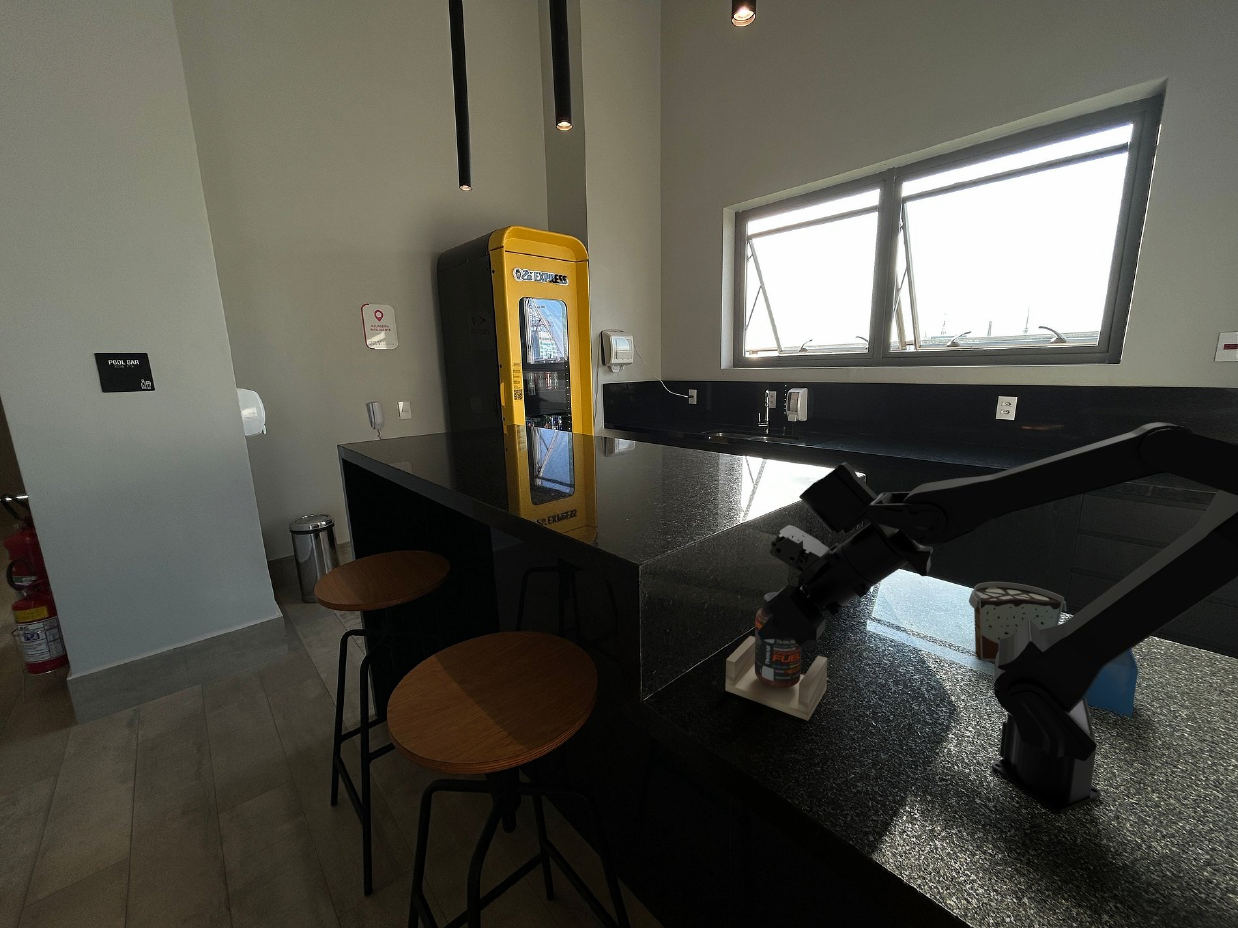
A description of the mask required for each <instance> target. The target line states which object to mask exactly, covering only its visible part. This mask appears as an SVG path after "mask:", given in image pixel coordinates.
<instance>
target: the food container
mask: <svg viewBox="0 0 1238 928" xmlns="http://www.w3.org/2000/svg"><path fill="white" fill-rule="evenodd" d="M968 603H969V605H970V606H971V607H972V608H973V611H974V612H973V615H974V616H973V617H974V644H975V647H974V648H975V650H974V651H975V654H976V657H977V658H978V660H980V661H987V662H988V661H989V662H990V661H993V662H994V661H995V659H996V655H997V652H998V651H999V640H1000V639H1003V638H1007V637H1009V636H1011V635H1013V634H1014V633H1016V632H1017V631H1018V629H1019V628H1020V627H1021V626H1022V625H1023V624H1024V623H1025V622H1026V621H1027V620H1031V621H1032V622H1033V623H1034V624H1035V625H1036V626H1037V627H1038V628H1039V629H1040V630H1042V629H1046V628H1050V627H1054V626H1057V625H1060V624H1059V623H1060V619H1061V615H1062V611H1064V612H1067V611H1068V610H1067V603H1066V601H1065V597H1064V596H1062V595H1060V594H1057V593H1055V592H1052V591H1050V590H1047V589H1044V588H1041V587H1036V586H1032V585H1029V584H1028V585H1027V584H1024V583H1023V584H1021V583H1015V582H1008V581H1007V582H1006V581H1005V582H1004V581H987V582H981V583H977V584H976V585H975V586H974V588H973V589H972V590H971V593H970V595H969V598H968Z"/></svg>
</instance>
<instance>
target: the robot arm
mask: <svg viewBox="0 0 1238 928" xmlns="http://www.w3.org/2000/svg"><path fill="white" fill-rule="evenodd" d="M1158 474H1171V475H1174V476H1177V477H1180V478H1184V479H1185V480H1186V479H1187V480H1190V481H1193V482H1196V483H1199V484H1202V485H1205V486H1208V487H1210V488H1214V489H1217V490H1218V491H1217V492H1216V494H1215V496H1213V498H1212V500H1211V501H1210V503H1209V505H1208V507H1207V508H1206V510H1205V511H1204V513H1203V514H1202V516H1201V518H1200V519H1199V520H1198V522H1197V523H1196V524H1195V525H1194V526H1193V527H1192V528H1190V529H1189V530H1188V531H1187V532H1185V533H1184V534H1182V535H1181V536H1179V537H1178V538H1177V539H1175V540H1174V541H1172V542H1171V543H1170V544H1168V545H1167V546H1165V548H1163V549H1161V551H1159V552H1158V553H1157V554H1155V555H1153V557H1151V558H1150V559H1148V560H1147V561H1146V562H1144V563H1143V564H1141V565H1140V566H1138V568H1136V569H1134V571H1132V572H1131V573H1130V574H1128V575H1127V576H1126V577H1123V578H1122V579H1121V580H1120V581H1119V582H1117V583H1116V584H1114V585H1113V586H1112V587H1110V588H1109V589H1107V591H1104V592H1103V593H1102V594H1101V595H1099V596H1098V597H1097V598H1095V599H1094V600H1092V601H1091V602H1090V603H1089V604H1087V605H1086V606H1085V607H1083V608H1082V609H1081V610H1079V611H1077V612H1076V613H1075V614H1073V615H1072V616H1071V617H1069V618H1068V619H1067V620H1065V621H1064V622H1062V623H1060V624H1058V625H1057V626H1054V627H1050V628H1046V629H1042V630H1040V629H1039V628H1038V627H1037V626H1036V625H1035V624H1034V623H1033V622H1032V621H1031V620H1027V621H1026V622H1025V623H1024V624H1023V625H1022V626H1021V627H1020V628H1019V629H1018V631H1017V632H1016V633H1014V634H1013V635H1011V636H1009V637H1007V638H1003V639H1000V640H999V651H998V652H997V655H996V659H995V663H994V675H993V676H994V677H993V692H994V696H995V698H996V700H997V703H998V704H999V705H1000V706H1001V707H1002V709H1004V710H1005V712H1006V713H1007V717H1006V718H1007V719H1006V721H1003V722H1002V725H1001V735H1000V742H999V743H1000V746H999V757H1001V759H999V760H996V761H994V762H992V763H991V769H992V770H993V771H994V772H996V774H997V773H998V774H999V775H1000V776H1002V777H1003V778H1005V780H1007V781H1009V782H1010V783H1012V784H1013V785H1014V786H1016V787H1018V788H1019V789H1020V790H1021V791H1023V792H1024V793H1026V794H1027V795H1029V796H1030V797H1031V798H1033V799H1034V800H1036V801H1037V802H1039V803H1040V804H1041V805H1043V807H1046V808H1047V809H1049V810H1050V811H1051V812H1054V813H1056V814H1063V813H1066V812H1068V811H1071V810H1073V809H1075V808H1079V807H1080V806H1084V805H1086V804H1089V803H1091V802H1094V801H1096V800H1099V799H1100V798H1101V796H1102V792H1101V791H1100V790H1099V789H1098V788H1096V787H1095V786H1094V785H1093V784H1092V783H1093V776H1094V769H1095V761H1096V753H1097V747H1098V744H1097V740H1096V737H1095V732H1094V727H1093V723H1092V718H1091V715H1090V709H1089V705H1088V704H1087V700H1086V698H1085V696H1086V694H1087V692H1088V691H1089V689H1090V688H1091V686H1092V684H1093V683H1094V681H1095V680H1096V678H1097V677H1098V675H1099V673H1100V672H1101V670H1102V669H1103V668H1104V667H1105V666H1106V665H1108V664H1109V663H1111V662H1112V661H1114V660H1115V659H1117V658H1118V657H1120V656H1121V655H1123V654H1124V653H1126V652H1127V651H1129V650H1130V649H1132V650H1133V648H1135V647H1137V646H1138V645H1139V644H1141V643H1143V642H1144V641H1145V640H1147V639H1149V638H1150V637H1152V636H1153V635H1155V634H1156V633H1157V632H1159V631H1160V630H1162V629H1163V628H1165V627H1166V626H1168V625H1170V624H1171V623H1172V622H1174V621H1175V620H1177V619H1178V618H1181V617H1182V616H1183V615H1185V614H1186V613H1188V612H1189V611H1191V610H1193V609H1194V608H1195V607H1197V606H1199V605H1201V604H1202V603H1203V602H1204V601H1206V600H1207V599H1209V598H1210V597H1213V595H1215V594H1217V593H1219V592H1220V591H1221V590H1222V589H1225V588H1227V586H1229V585H1230V584H1232V583H1233V582H1235V581H1237V579H1238V443H1235V442H1232V441H1227V440H1225V439H1224V440H1223V439H1219V438H1216V437H1212V436H1208V435H1203V434H1201V433H1197V432H1193V431H1192V430H1191V429H1188V428H1187V427H1183V426H1180V425H1177V424H1173V423H1171V422H1161V421H1160V422H1159V421H1158V422H1150V423H1146V424H1143V425H1141V426H1140V427H1138V428H1136V429H1134V430H1132V431H1129V432H1127V433H1123V434H1120V435H1117V436H1113V437H1111V438H1107V439H1104V440H1100V441H1097V442H1094V443H1091V444H1087V445H1084V446H1081V447H1078V448H1075V449H1072V450H1069V451H1064V452H1061V453H1058V454H1055V455H1051V456H1048V457H1046V458H1045V457H1044V458H1042V459H1039V460H1035V461H1032V462H1029V463H1026V464H1022V465H1019V466H1017V467H1013V468H1010V469H1006V470H1003V471H1000V472H996V473H993V474H987V475H981V476H980V475H979V476H972V477H969V476H968V477H960V478H959V477H958V478H957V477H956V478H951V479H946V480H945V479H944V480H940V481H932V482H926V483H922V484H920V485H919V486H916V487H914V489H912V491H896V492H895V491H894V492H893V491H892V492H889V491H888V492H881V493H879V494H878V495H877V494H876V493H875V492H874V491H873V490H872V489H871V487H869V486H868V485H867V484H866V483H865V482H864V481H863V480H862V479H861V477H859V476H858V474H857V473H856V471H855V469H854V468H853V467H852V466H851V465H850V464H849V463H848V462H845V461H844V462H842V463H840V464H839V465H838V466H837V467H835V468H834V469H832V470H831V471H830V472H829V473H827V474H826V475H825V476H823V477H822V478H820V479H818V480H816V481H815V482H814V483H812V484H811V485H809V487H807V488H806V489H805V490H804V491H803V492H802V493H801V494H800V495H799V496H798V497H799V499H800V500H801V501H802V502H803V503H804V504H805V505H806V507H808V508H809V510H810V511H811V512H812V513H813V514H814V515H815V516H816V517H817V519H819V520H820V522H821V523H822V524H823V525H824V526H825V527H826V528H827V530H828V531H829V532H830V533H832V532H834V533H836V534H839V533H841V532H842V533H843V534H844V535H846V534H848V533H849V532H850V531H852V530H854V528H856V527H857V526H858V525H860V524H861V523H862V522H864V521H865V520H867V521H868V524H867V525H865V526H864V527H862V529H860V530H859V531H857V532H856V533H855V534H854V535H851V537H849V538H848V539H847V540H845V541H844V542H843V543H842V542H841V543H835V544H834V545H833V546H831V547H830V548H829V547H828V546H827V545H825V544H824V543H823V542H821V541H820V540H819V539H817V538H815V537H814V536H812V535H811V534H808V533H807V532H805V531H803V530H801V529H800V528H798V527H797V526H795V525H789V524H788V525H786V526H785V527H783V528H782V529H781V530H779V531H778V534H777V535H776V537H775V539H774V540H772V541H771V542H770V549H769V551H768V552H769V554H770V555H771V556H772V557H774V558H775V559H777V560H779V561H780V562H782V563H784V564H786V565H787V566H788V567H789V566H790V567H791V568H794V569H796V570H798V571H799V572H798V574H797V575H796V577H797V580H798V581H797V586H795V585H790V584H787V585H786V586H784V587H783V588H781V589H780V590H779V591H778V593H776V594H775V595H774V596H773V597H772V598H771V599H770V600H769V601H768V602H767V606H768V609H769V610H770V611H771V613H772V615H771V617H770V618H769V619H768V620H767V621H766V622H765V624H764V625H763V626H762V627H761V628H760V629H759V631H758V632H757V634H758V636H759V637H760V638H761V639H762V640H769V639H793V640H794V641H795V642H796V643H797V644H798V646H800V647H802V649H805V648H807V647H808V646H810V645H812V644H814V643H815V642H817V640H818V639H819V638H820V636H821V635H822V633H823V632H824V631H825V630H826V617H825V616H824V615H823V613H822V612H827V611H828V612H829V613H830V614H831V616H835V615H836V614H838V613H839V612H841V610H842V609H843V607H844V606H845V605H847V604H848V603H849V602H851V601H852V600H854V599H855V598H857V597H859V598H860V599H861V598H863V597H864V596H867V594H868V593H869V592H870V590H871V589H872V587H874V586H876V585H877V584H878V583H880V582H881V581H883V580H885V579H886V578H887V577H889V576H890V575H892V574H893V573H895V572H897V571H898V570H899V569H901V568H903V567H905V565H907V564H909V565H910V566H911V567H912V568H913V570H915V571H916V573H917V574H918V575H920V576H921V577H926V576H928V573H929V571H930V569H931V566H932V563H931V556H932V553H933V551H934V549H933V547H932V546H941V545H944V544H946V543H948V542H950V541H953V540H956V539H957V538H961V537H962V536H965V535H967V534H969V533H972V532H973V531H976V530H978V529H979V528H981V527H982V526H985V525H986V524H989V523H990V522H992V521H994V520H995V519H998V518H1001V517H1002V516H1004V515H1007V514H1010V513H1013V512H1017V511H1021V510H1026V509H1029V508H1033V507H1037V506H1040V505H1044V504H1048V503H1051V502H1056V501H1059V500H1063V499H1067V498H1071V497H1075V496H1079V495H1082V494H1086V493H1091V492H1094V491H1098V490H1101V489H1105V488H1108V487H1113V486H1116V485H1120V484H1123V483H1128V482H1131V481H1136V480H1140V479H1143V478H1147V477H1150V476H1154V475H1158Z"/></svg>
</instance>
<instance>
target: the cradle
mask: <svg viewBox="0 0 1238 928" xmlns="http://www.w3.org/2000/svg"><path fill="white" fill-rule="evenodd" d="M725 660H726V661H725V691H726V692H728V693H732V694H735V695H737V696H740V697H742V698H745V699H747V700H751V701H753V702H756V703H759V704H761V705H764V706H767V707H769V708H772V709H775V710H778V711H781V712H783V713H786V714H788V715H792V716H794V717H797V718H799V719H802V720H805V721H809V720H810V719H811V716H812V715H813V713H814V712H815V709H816V708H817V707H818V704H819V702H820V701H821V699H822V698H823V696H824V694H825V693H826V690H827V686H828V685H827V684H828V683H827V676H828V675H827V674H828V673H827V672H828V658H827V657H825V656H821V655H817V656H816V658H815V660H814V661H813V662H812V664H811V665H810V667H809V668H808V670H807V671H806V673H805V674H802V673H801V675H800V681H799V682H798V683H797V684H796V685H794V686H792V687H788V688H778V687H772V686H769V685H767V684H765V683H763V682H762V681H760V680H759V679H758V678H757V676H756V674H755V636H752V635H749V636H748V637H747V638H746V639H745V640H744V641H743V642H742V643H741V644H740V645H739V646H738V647H737V648H736V649H735V650H734V652H732V653H731V654H730V655H729V656H728V657H727V658H726V659H725Z"/></svg>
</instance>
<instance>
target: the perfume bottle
mask: <svg viewBox="0 0 1238 928" xmlns="http://www.w3.org/2000/svg"><path fill="white" fill-rule="evenodd" d="M1138 674H1139V668H1138V665H1137V661H1136V658H1135V656H1134V652H1133V648H1132V649H1130V650H1129V651H1127V652H1126V653H1124V654H1123V655H1121V656H1120V657H1118V658H1117V659H1115V660H1114V661H1112V662H1111V663H1109V664H1108V665H1106V666H1105V667H1104V668H1103V669H1102V670H1101V672H1100V673H1099V675H1098V677H1097V678H1096V680H1095V681H1094V683H1093V684H1092V686H1091V688H1090V689H1089V691H1088V692H1087V694H1086V696H1085V698H1086V700H1087V704H1088V706H1093V707H1096V708H1100V709H1103V710H1106V709H1107V711H1111V712H1114V713H1117V714H1120V713H1121V715H1124V716H1128V717H1132V716H1133V709H1134V701H1135V696H1136V695H1135V694H1136V689H1137V683H1138V682H1137V680H1138Z"/></svg>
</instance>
